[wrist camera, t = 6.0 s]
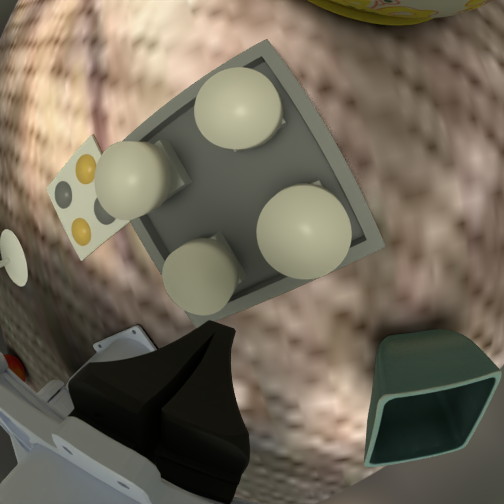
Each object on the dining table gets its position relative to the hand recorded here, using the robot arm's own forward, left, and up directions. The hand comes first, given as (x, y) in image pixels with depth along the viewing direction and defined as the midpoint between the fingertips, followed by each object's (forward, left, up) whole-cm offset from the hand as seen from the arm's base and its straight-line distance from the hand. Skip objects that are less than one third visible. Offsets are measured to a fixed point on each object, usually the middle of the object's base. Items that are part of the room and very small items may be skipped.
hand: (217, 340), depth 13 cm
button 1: (+5, +2, -8) cm, 9 cm away
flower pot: (+8, -13, -10) cm, 18 cm away
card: (-12, +13, -10) cm, 20 cm away
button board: (+1, +6, -10) cm, 11 cm away
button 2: (+5, +10, -9) cm, 14 cm away
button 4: (-3, +10, -8) cm, 13 cm away
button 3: (-3, +2, -9) cm, 10 cm away
